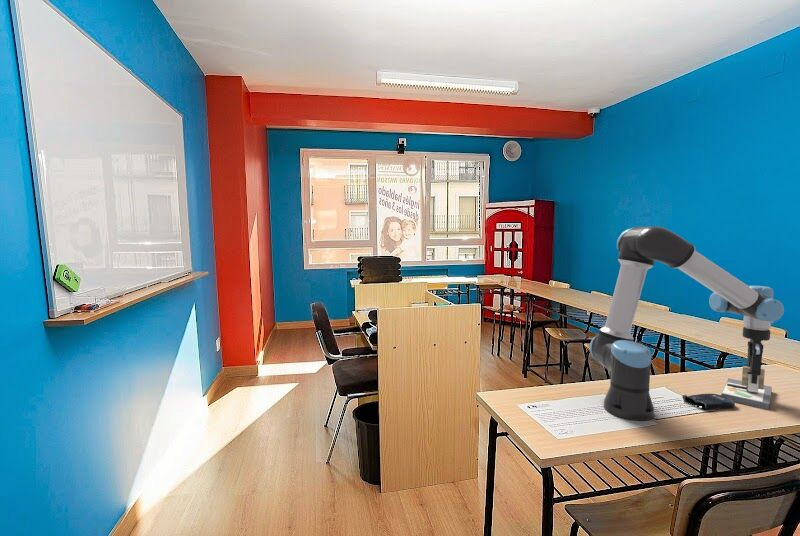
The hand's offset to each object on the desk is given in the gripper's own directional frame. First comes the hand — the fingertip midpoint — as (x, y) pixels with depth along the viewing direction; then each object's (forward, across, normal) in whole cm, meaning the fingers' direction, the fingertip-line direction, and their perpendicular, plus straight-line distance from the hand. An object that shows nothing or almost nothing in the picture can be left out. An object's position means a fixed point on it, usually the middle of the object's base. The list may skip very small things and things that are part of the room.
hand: (752, 389), depth 147 cm
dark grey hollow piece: (+4, -16, +13) cm, 21 cm away
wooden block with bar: (+1, 0, +2) cm, 2 cm away
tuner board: (+3, +2, +1) cm, 4 cm away
